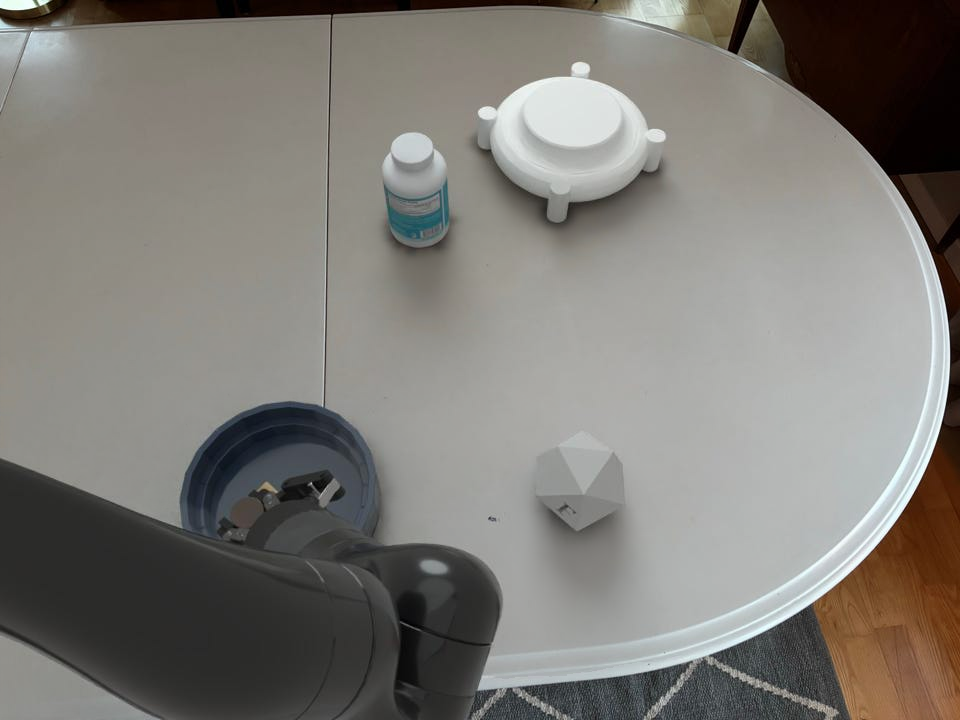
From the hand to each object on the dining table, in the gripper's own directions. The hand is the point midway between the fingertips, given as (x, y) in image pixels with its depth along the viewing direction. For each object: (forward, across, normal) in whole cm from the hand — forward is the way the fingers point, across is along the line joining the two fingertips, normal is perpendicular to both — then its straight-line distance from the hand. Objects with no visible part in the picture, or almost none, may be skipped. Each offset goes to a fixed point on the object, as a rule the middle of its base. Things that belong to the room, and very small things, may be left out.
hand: (242, 513), depth 71 cm
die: (-8, -24, +20) cm, 33 cm away
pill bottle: (+17, -39, -5) cm, 43 cm away
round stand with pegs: (+13, -61, -1) cm, 63 cm away
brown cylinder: (+3, 0, +6) cm, 6 cm away
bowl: (+7, -4, +5) cm, 9 cm away
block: (+6, -2, +5) cm, 8 cm away
